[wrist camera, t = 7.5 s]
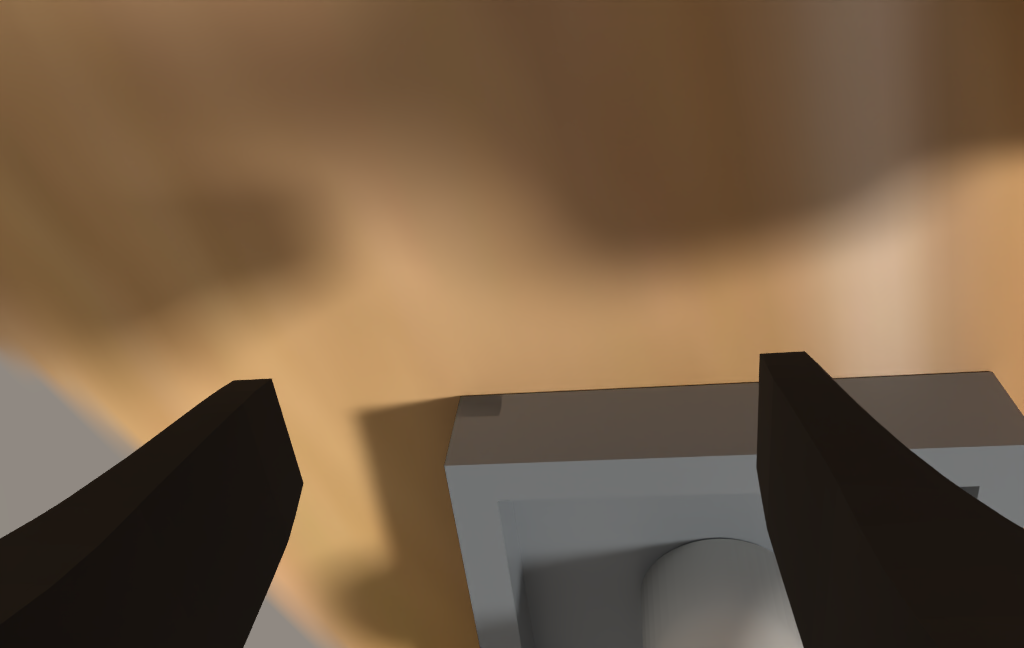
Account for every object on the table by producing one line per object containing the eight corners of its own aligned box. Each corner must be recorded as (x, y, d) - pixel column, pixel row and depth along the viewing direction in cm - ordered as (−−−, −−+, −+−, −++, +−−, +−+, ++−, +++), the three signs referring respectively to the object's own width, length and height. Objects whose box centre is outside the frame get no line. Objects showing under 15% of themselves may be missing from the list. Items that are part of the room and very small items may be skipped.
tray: (992, 371, 22) (1043, 444, 20) (926, 716, 29) (957, 803, 27) (460, 396, 24) (444, 465, 22) (516, 715, 31) (509, 796, 29)
